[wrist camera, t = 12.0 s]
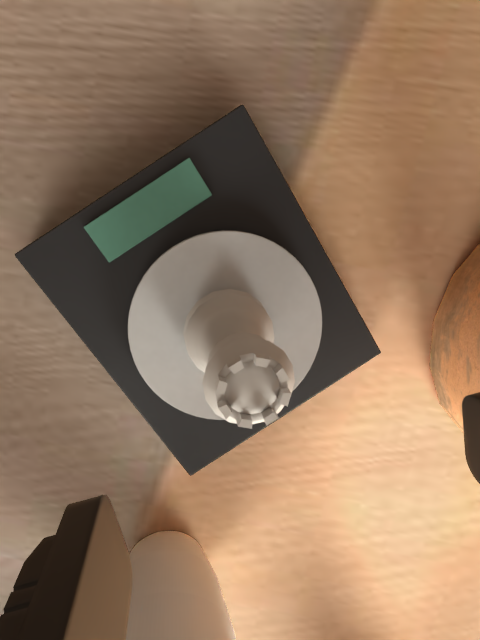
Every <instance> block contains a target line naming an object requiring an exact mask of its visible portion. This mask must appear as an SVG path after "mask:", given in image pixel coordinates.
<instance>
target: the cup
mask: <svg viewBox="0 0 480 640" xmlns="http://www.w3.org/2000/svg"><path fill="white" fill-rule="evenodd" d="M129 555H130V560H131V566H132V593H131V601H130V609H129V618H128V626H127V634H126V640H236V637H235V632H234V628H233V625H232V622H231V619H230V616H229V613H228V610H227V606H226V603H225V600H224V597H223V594H222V591H221V588H220V585H219V581H218V578H217V576H216V574H215V572H214V570H213V568H212V566H211V564H210V563H209V561H208V559H207V557H206V555H205V553H204V551H203V549H202V547H201V546H200V544H199V543H198V542H197V541H196V540H195V539H194V538H192V537H191V536H189V535H187V534H185V533H182V532H178V531H161V532H157V533H154V534H151V535H149V536H147V537H145V538H143V539H142V540H141V541H139V542H138V543H137V544H136V545H135V546H134V548H133V549H132V551H131V552H130V554H129Z"/></svg>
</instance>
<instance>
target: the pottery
mask: <svg viewBox="0 0 480 640" xmlns="http://www.w3.org/2000/svg"><path fill="white" fill-rule="evenodd" d="M429 366H430V370H431V373H432V377H433V380H434V384H435V388H436V391H437V395H438V398H439V402H440V405H441V406H442V407H443V408H444V410H445V411H446V412H447V413H448V415H449V416H450V417H451V418H452V420H453V421H454V422H455V423H456V424H457V426H458V427H459V428H460V429H461V431H462V432H463V433H464V429H463V416H462V401H463V399H464V397H465V396H467V395H471V394H474V393H478V392H480V244H479V245H478V246H477V247H476V248H475V249H474V251H473V252H472V253H471V254H470V255H469V257H468V258H467V259H466V260H465V261H464V262H463V264H462V265H461V266H460V267H459V268H458V270H457V271H456V272H455V273H454V274H453V276H452V278H451V280H450V283H449V285H448V287H447V290H446V292H445V294H444V297H443V299H442V301H441V304H440V306H439V308H438V311H437V313H436V315H435V318H434V320H433V329H432V341H431V352H430V363H429Z"/></svg>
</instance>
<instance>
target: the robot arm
mask: <svg viewBox="0 0 480 640" xmlns="http://www.w3.org/2000/svg"><path fill="white" fill-rule="evenodd" d="M462 416H463V429H464V442H465V455H466V460H467V463H468V466H469V468H470V470H471V472H472V474H473V476H474V477H475V479H476V480H477V481H478V482H479V483H480V392H478V393H474V394H471V395H467V396H465V397H464V399H463V401H462ZM13 588H14V592H11V594H10V596H9V598H8V601H7V603H6V605H5V607H4V614H3V615H1V617H0V640H126V634H127V626H128V618H129V609H130V601H131V593H132V566H131V560H130V555H129V552H128V549H127V546H126V543H125V540H124V538H123V535H122V532H121V529H120V526H119V523H118V521H117V518H116V515H115V512H114V509H113V507H112V504H111V501H110V499H109V498H108V496H107V495H101V496H98V497H94V498H90V499H87V500H83V501H79V502H76V503H72V504H69V505H68V506H67V507H66V509H65V511H64V514H63V517H62V519H61V522H60V525H59V527H58V530H57V533H56V535H53V536H50V537H46V538H44V539H43V540H42V541H41V542H40V544H39V545H38V546H37V547H36V548H35V550H34V551H33V552H32V553H31V555H30V556H29V557H28V558H27V559H26V561H25V562H24V564H23V566H22V569H21V571H20V573H19V575H18V578H17V580H16V582H15V585H14V587H13Z"/></svg>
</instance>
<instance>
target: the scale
mask: <svg viewBox="0 0 480 640" xmlns="http://www.w3.org/2000/svg"><path fill="white" fill-rule="evenodd" d="M15 256H16V258H17V259H18V260H19V261H20V263H21V264H22V265H23V266H24V268H25V269H26V270H27V272H28V273H29V274H30V275H31V277H32V278H33V279H34V280H35V282H36V283H37V284H38V285H39V287H40V288H41V289H42V290H43V292H44V293H45V294H46V295H47V297H48V298H49V299H50V300H51V302H52V303H53V304H54V305H55V307H56V308H57V309H58V310H59V312H60V313H61V314H62V315H63V317H64V318H65V319H66V320H67V322H68V323H69V324H70V325H71V327H72V328H73V329H74V331H75V332H76V333H77V334H78V336H79V337H80V338H81V339H82V341H83V342H84V343H85V344H86V346H87V347H88V348H89V349H90V351H91V352H92V353H93V354H94V356H95V357H96V358H97V359H98V361H99V362H100V363H101V364H102V366H103V367H104V368H105V369H106V371H107V372H108V373H109V374H110V376H111V377H112V378H113V379H114V381H115V382H116V383H117V385H118V386H119V387H120V388H121V390H122V391H123V392H124V393H125V395H126V396H127V397H128V398H129V400H130V401H131V402H132V403H133V405H134V406H135V407H136V408H137V410H138V411H139V412H140V413H141V415H142V416H143V417H144V418H145V420H146V421H147V422H148V423H149V425H150V426H151V427H152V428H153V430H154V431H155V432H156V433H157V435H158V436H159V437H160V438H161V440H162V441H163V442H164V444H165V445H166V446H167V447H168V449H169V450H170V451H171V452H172V454H173V455H174V456H175V457H176V459H177V460H178V461H179V462H180V464H181V465H182V466H183V467H184V469H185V470H186V471H187V472H188V474H189V475H190V476H191V475H193V474H194V473H196V472H197V471H199V470H201V469H202V468H204V467H205V466H207V465H208V464H210V463H211V462H213V461H214V460H216V459H218V458H219V457H221V456H222V455H224V454H225V453H227V452H228V451H230V450H231V449H233V448H235V447H236V446H238V445H239V444H241V443H242V442H244V441H245V440H247V439H248V438H250V437H252V436H253V435H255V434H256V433H258V432H259V431H261V430H262V429H264V428H265V427H267V426H269V425H270V424H272V423H273V422H275V421H276V420H278V419H279V418H281V417H282V416H284V415H286V414H287V413H289V412H290V411H292V410H293V409H295V408H296V407H298V406H299V405H301V404H303V403H304V402H306V401H307V400H309V399H310V398H312V397H313V396H315V395H316V394H318V393H320V392H321V391H323V390H324V389H326V388H327V387H329V386H330V385H332V384H333V383H335V382H336V381H338V380H340V379H341V378H343V377H344V376H346V375H347V374H349V373H350V372H352V371H353V370H355V369H357V368H358V367H360V366H361V365H363V364H364V363H366V362H367V361H369V360H370V359H372V358H374V357H375V356H377V355H378V354H380V353H381V352H380V350H379V348H378V346H377V344H376V343H375V341H374V339H373V337H372V335H371V334H370V332H369V330H368V328H367V326H366V325H365V323H364V321H363V319H362V317H361V316H360V314H359V312H358V310H357V308H356V307H355V305H354V303H353V301H352V299H351V298H350V296H349V294H348V292H347V290H346V289H345V287H344V285H343V283H342V281H341V280H340V278H339V276H338V274H337V272H336V271H335V269H334V267H333V265H332V263H331V262H330V260H329V258H328V256H327V254H326V253H325V251H324V249H323V247H322V245H321V244H320V242H319V240H318V238H317V236H316V235H315V233H314V231H313V229H312V228H311V226H310V224H309V222H308V220H307V219H306V217H305V215H304V213H303V211H302V210H301V208H300V206H299V204H298V202H297V201H296V199H295V197H294V195H293V193H292V192H291V190H290V188H289V186H288V184H287V183H286V181H285V179H284V177H283V175H282V174H281V172H280V170H279V168H278V166H277V165H276V163H275V161H274V159H273V157H272V156H271V154H270V152H269V150H268V148H267V147H266V145H265V143H264V141H263V139H262V138H261V136H260V134H259V132H258V130H257V129H256V127H255V125H254V123H253V121H252V120H251V118H250V116H249V114H248V112H247V111H246V109H245V107H244V105H240V106H239V107H237V108H236V109H234V110H233V111H231V112H230V113H228V114H227V115H225V116H224V117H222V118H221V119H219V120H218V121H216V122H215V123H213V124H212V125H210V126H209V127H207V128H206V129H204V130H202V131H201V132H199V133H198V134H196V135H195V136H193V137H192V138H190V139H189V140H187V141H186V142H184V143H183V144H181V145H180V146H178V147H177V148H175V149H174V150H172V151H171V152H169V153H168V154H166V155H165V156H163V157H161V158H160V159H158V160H157V161H155V162H154V163H152V164H151V165H149V166H148V167H146V168H145V169H143V170H142V171H140V172H139V173H137V174H136V175H134V176H133V177H131V178H130V179H128V180H127V181H125V182H123V183H122V184H120V185H119V186H117V187H116V188H114V189H113V190H111V191H110V192H108V193H107V194H105V195H104V196H102V197H101V198H99V199H98V200H96V201H95V202H93V203H92V204H90V205H89V206H87V207H85V208H84V209H82V210H81V211H79V212H78V213H76V214H75V215H73V216H72V217H70V218H69V219H67V220H66V221H64V222H63V223H61V224H60V225H58V226H57V227H55V228H54V229H52V230H51V231H49V232H48V233H46V234H44V235H43V236H41V237H40V238H38V239H37V240H35V241H34V242H32V243H31V244H29V245H28V246H26V247H25V248H23V249H22V250H20V251H19V252H17V253H16V254H15ZM225 289H234V290H238V291H243V292H247V293H248V294H250V295H251V296H253V297H254V298H255V299H257V300H258V301H260V302H261V303H262V305H263V307H264V308H265V310H266V312H267V313H268V315H269V317H270V319H271V320H272V324H273V332H274V342H273V344H275V345H276V346H278V347H279V348H281V349H282V350H284V352H285V353H286V355H287V357H288V358H289V360H290V362H291V363H292V365H293V371H294V379H295V383H294V387H293V390H292V394H291V397H290V400H289V404H288V407H287V406H284V407H283V408H282V410H281V411H280V412H279V413H278V414H277V415H278V417H279V418H278V419H276V420H275V421H273V422H272V423H270V424H268V425H267V426H266V424H265V422H261V423H256V424H252V429H250V428H244V427H238V425H237V424H235V423H230V422H228V421H226V420H225V419H223V418H221V417H220V416H218V415H216V414H215V413H214V411H213V410H212V408H211V407H210V406H209V404H208V403H207V401H206V400H205V395H204V389H203V384H202V382H203V378H204V374H205V373H204V372H203V371H201V370H200V369H198V368H197V367H196V365H195V364H194V362H193V361H192V359H191V358H190V357H189V355H188V352H187V350H186V345H185V340H184V335H183V331H184V326H185V322H186V317H187V315H188V313H189V312H190V311H191V309H192V308H193V306H194V305H195V304H196V302H197V301H198V300H200V299H202V298H203V297H205V296H206V295H208V294H210V293H211V292H214V291H220V290H225Z"/></svg>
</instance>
